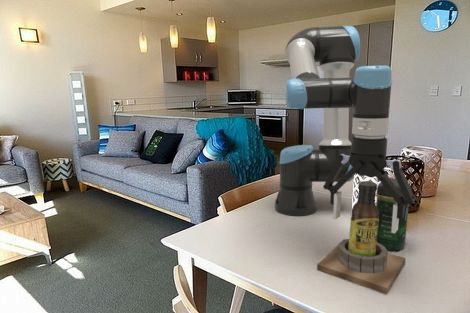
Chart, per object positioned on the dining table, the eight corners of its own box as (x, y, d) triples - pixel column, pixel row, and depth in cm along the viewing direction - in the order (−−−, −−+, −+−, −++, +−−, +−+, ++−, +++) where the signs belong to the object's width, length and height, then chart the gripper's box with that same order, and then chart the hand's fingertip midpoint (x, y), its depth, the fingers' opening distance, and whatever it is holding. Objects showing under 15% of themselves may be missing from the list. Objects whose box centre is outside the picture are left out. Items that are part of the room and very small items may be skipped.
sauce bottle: (353, 268, 77) (358, 187, 73) (343, 255, 83) (347, 179, 79) (380, 267, 77) (386, 186, 73) (368, 254, 83) (373, 179, 79)
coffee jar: (402, 254, 86) (407, 186, 82) (370, 246, 90) (374, 182, 86) (407, 240, 93) (413, 178, 90) (378, 234, 98) (382, 174, 94)
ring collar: (317, 269, 79) (317, 250, 78) (342, 245, 91) (343, 228, 90) (386, 294, 69) (388, 273, 68) (405, 263, 81) (406, 244, 80)
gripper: (311, 134, 79) (309, 216, 83) (429, 142, 63) (419, 244, 67) (324, 131, 84) (322, 208, 89) (435, 138, 69) (426, 231, 73)
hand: (364, 224), depth 78 cm, fingers open, 13 cm apart
